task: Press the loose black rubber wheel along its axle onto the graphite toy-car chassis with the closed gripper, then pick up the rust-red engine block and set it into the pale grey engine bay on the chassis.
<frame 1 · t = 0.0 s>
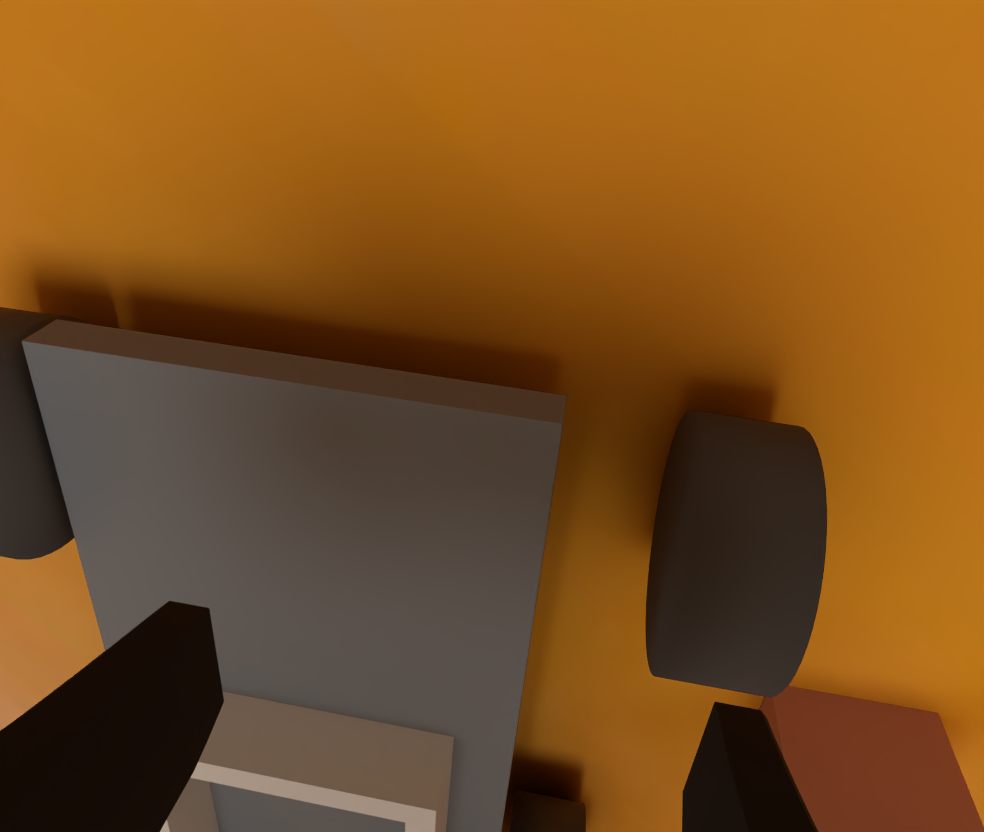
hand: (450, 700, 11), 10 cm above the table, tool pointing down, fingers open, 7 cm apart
loose wheel: (736, 551, 17), point 3 cm above the table, slide at 2.5 cm
chassis: (349, 618, 25), on the table
engine block: (827, 747, 25), on the table
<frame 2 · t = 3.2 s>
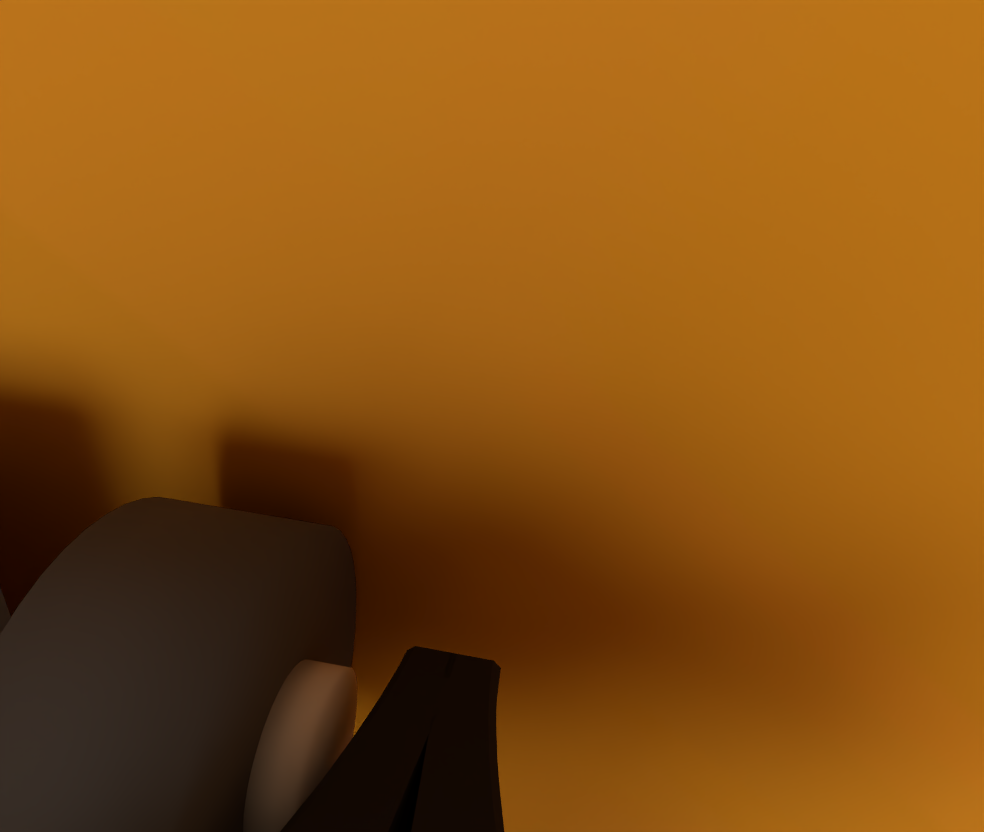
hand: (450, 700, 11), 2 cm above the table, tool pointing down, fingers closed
loose wheel: (218, 741, 10), point 3 cm above the table, slide at 1.4 cm, touching gripper
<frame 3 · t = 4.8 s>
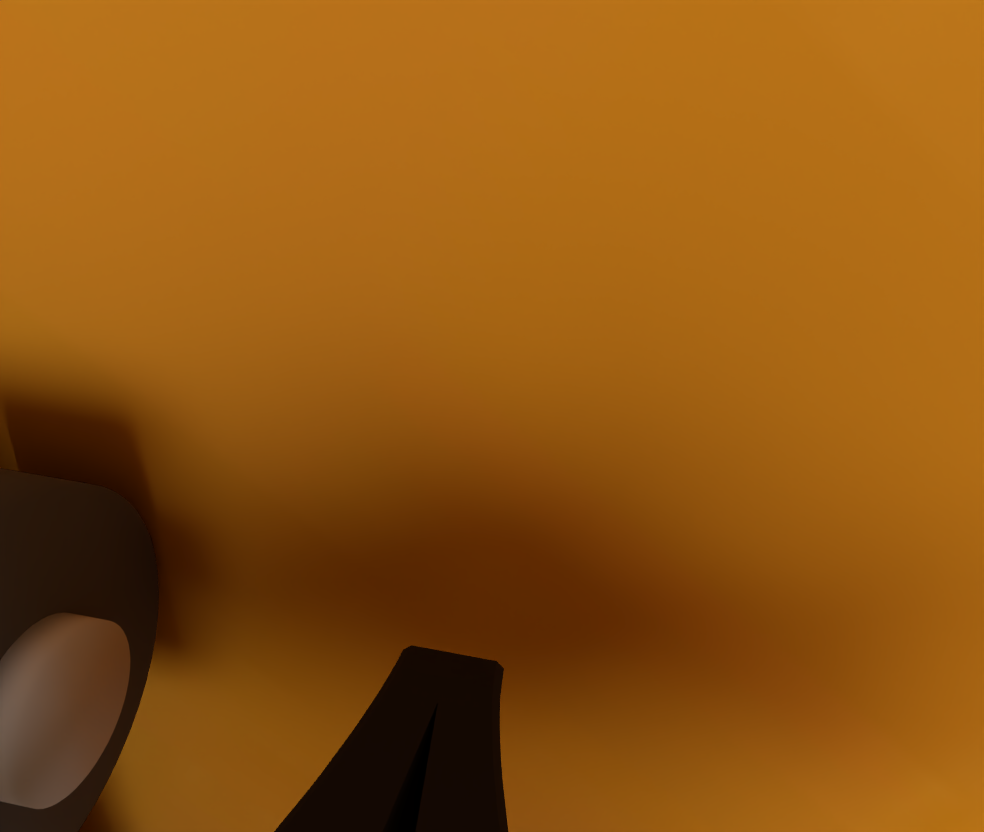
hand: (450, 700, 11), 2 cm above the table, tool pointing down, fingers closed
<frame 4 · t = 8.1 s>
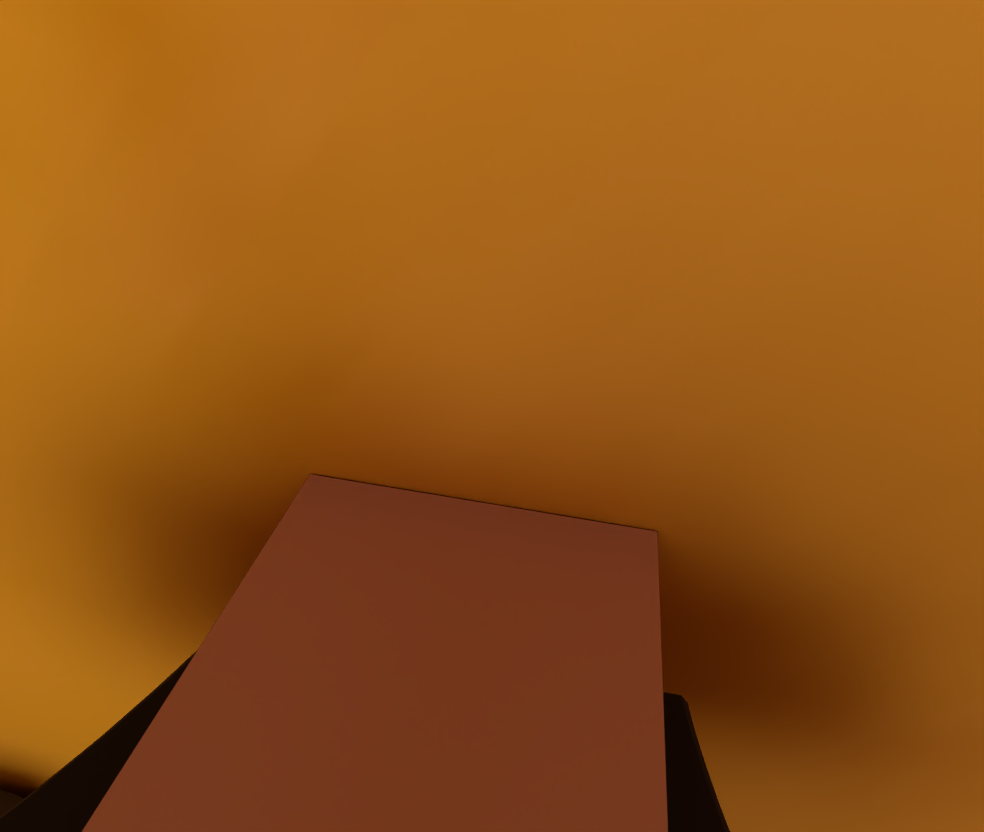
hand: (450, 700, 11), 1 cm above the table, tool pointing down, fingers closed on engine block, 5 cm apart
engine block: (468, 626, 12), on the table, touching gripper
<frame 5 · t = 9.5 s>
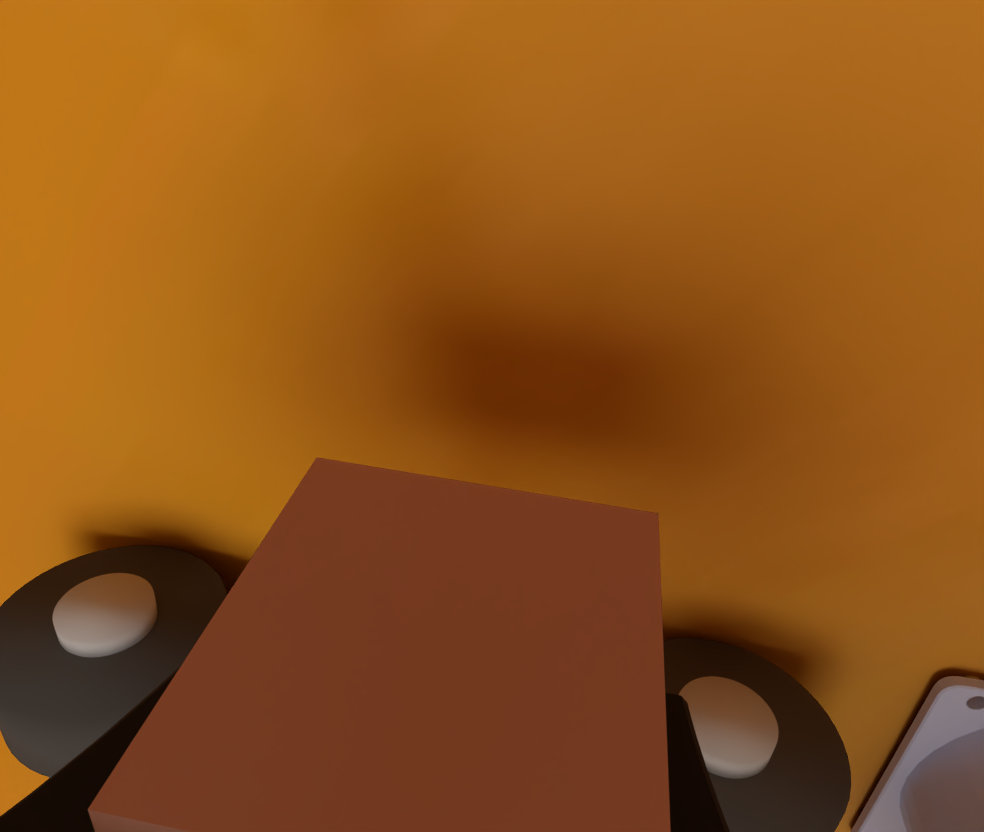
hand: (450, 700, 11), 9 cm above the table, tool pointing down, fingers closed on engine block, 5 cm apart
loose wheel: (115, 644, 21), point 3 cm above the table, slide at -0.1 cm
chassis: (422, 768, 27), on the table
engine block: (472, 609, 12), point 7 cm above the table, touching gripper
when the fingers open (6 cm above the table, at t = 11.4 s): engine block stays where it is, resting on chassis.
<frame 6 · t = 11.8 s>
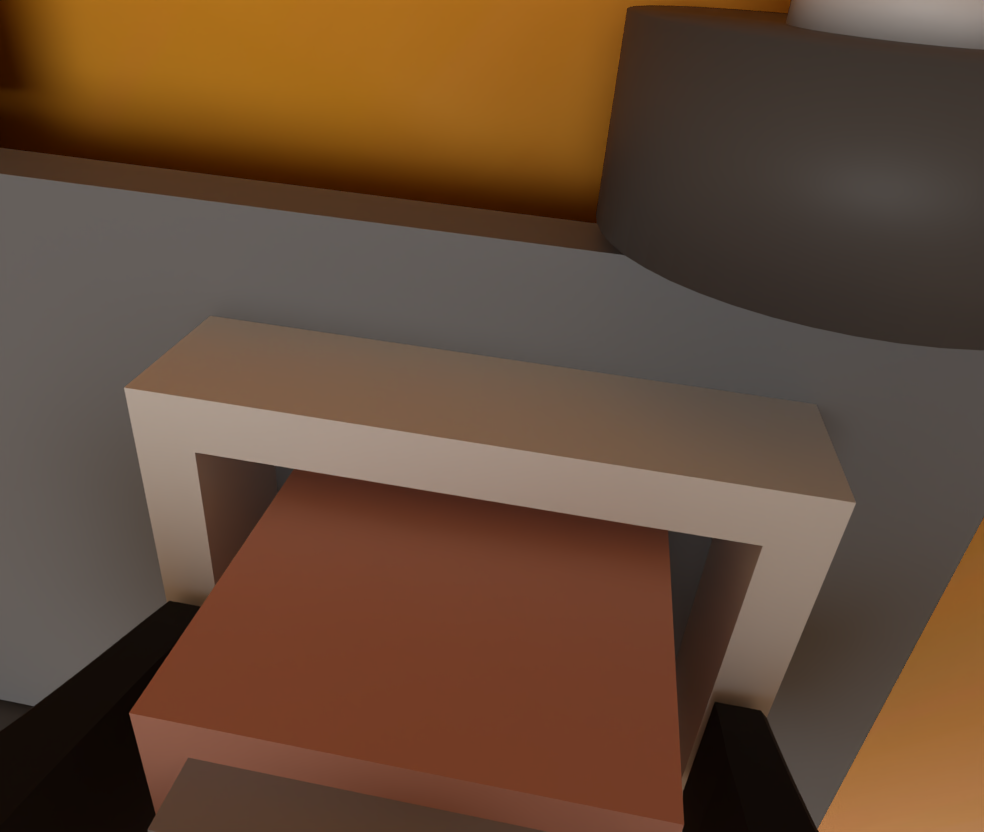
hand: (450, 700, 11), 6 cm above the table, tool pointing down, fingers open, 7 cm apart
chassis: (329, 430, 17), on the table
engine block: (483, 561, 13), point 4 cm above the table, touching chassis
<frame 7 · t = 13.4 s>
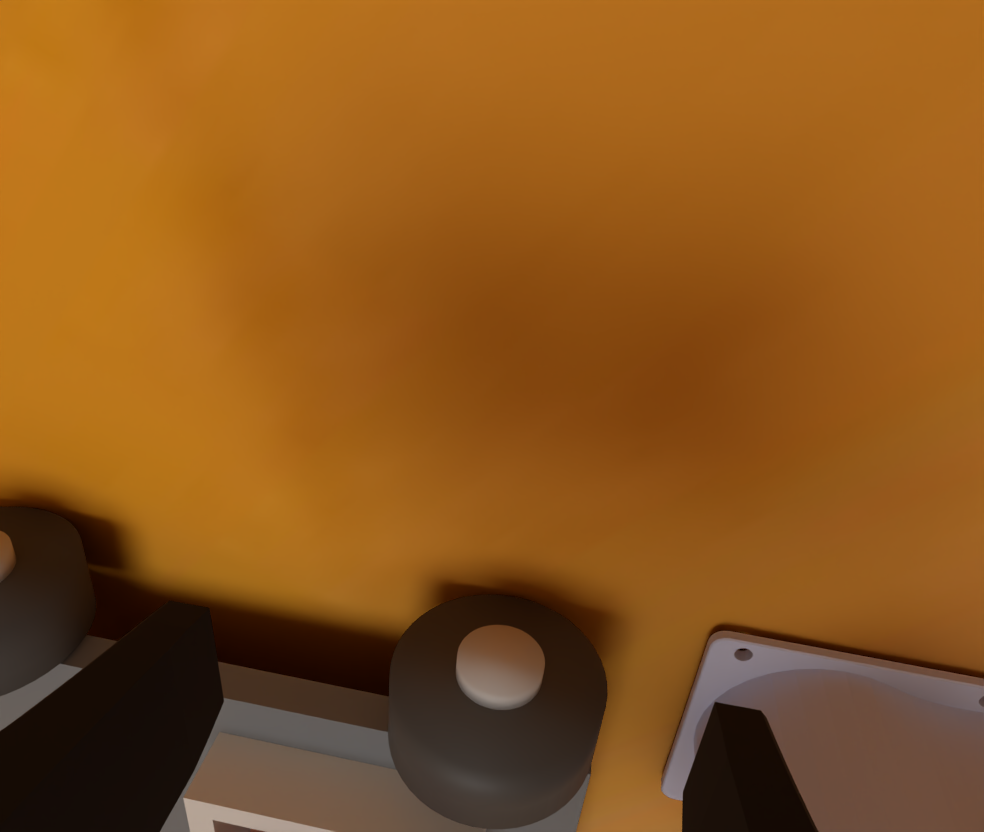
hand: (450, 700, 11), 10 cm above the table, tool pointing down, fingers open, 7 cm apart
chassis: (284, 720, 29), on the table
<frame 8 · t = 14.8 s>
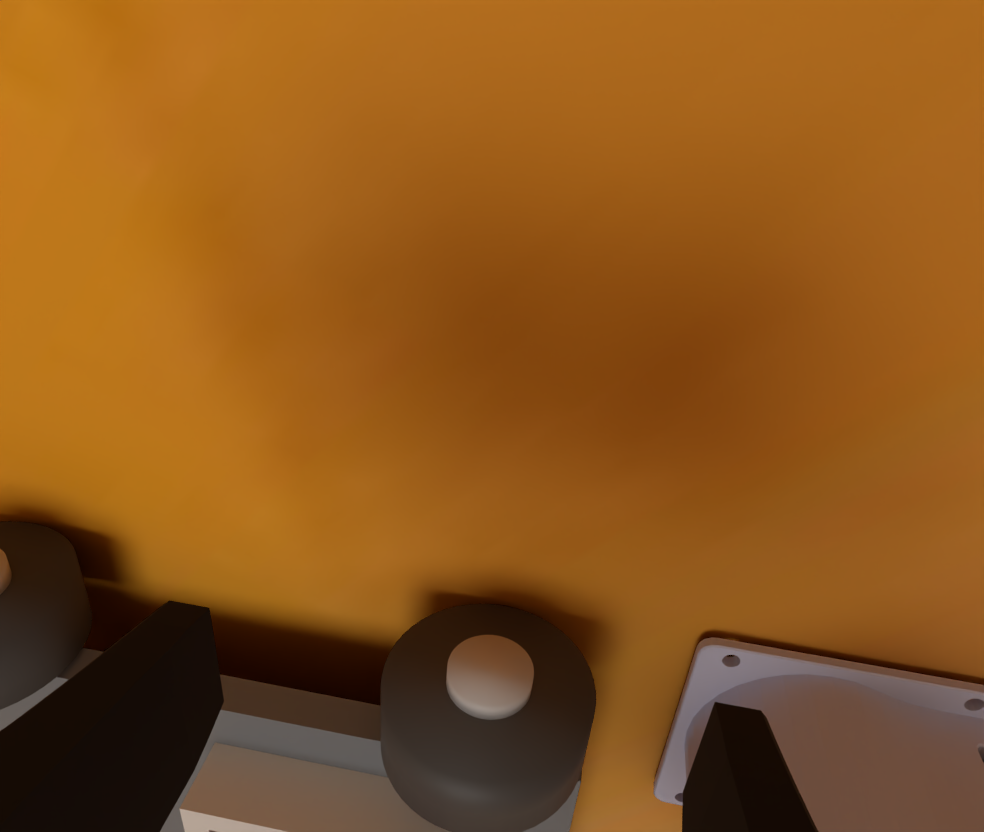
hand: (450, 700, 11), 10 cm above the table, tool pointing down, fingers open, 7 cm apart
chassis: (281, 728, 29), on the table
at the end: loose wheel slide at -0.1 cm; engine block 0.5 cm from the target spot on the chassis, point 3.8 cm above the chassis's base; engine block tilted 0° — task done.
